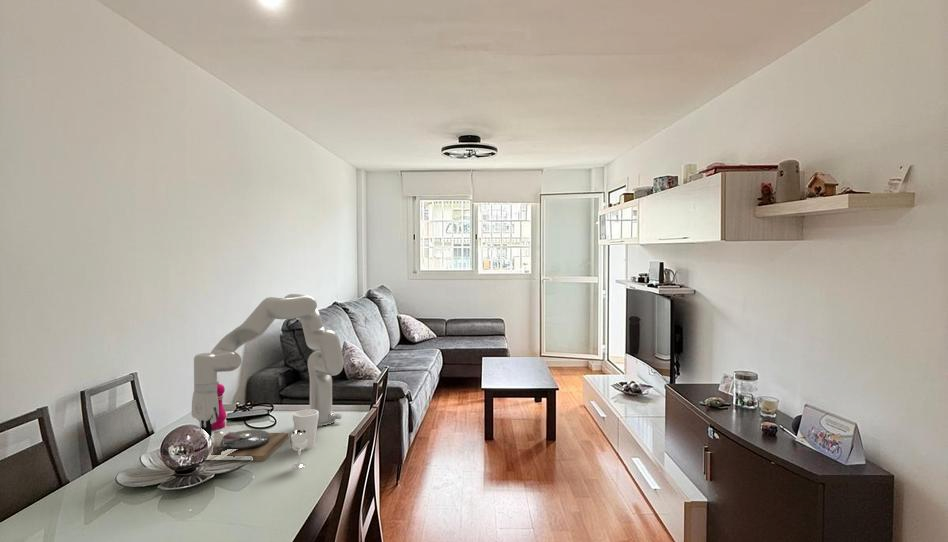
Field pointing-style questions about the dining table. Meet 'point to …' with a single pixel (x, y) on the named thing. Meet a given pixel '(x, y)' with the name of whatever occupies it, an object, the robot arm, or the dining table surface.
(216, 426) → the pepper mill
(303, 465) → the wineglass
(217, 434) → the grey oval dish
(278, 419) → the dining table surface
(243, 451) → the brown flat board
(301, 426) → the foam cup
